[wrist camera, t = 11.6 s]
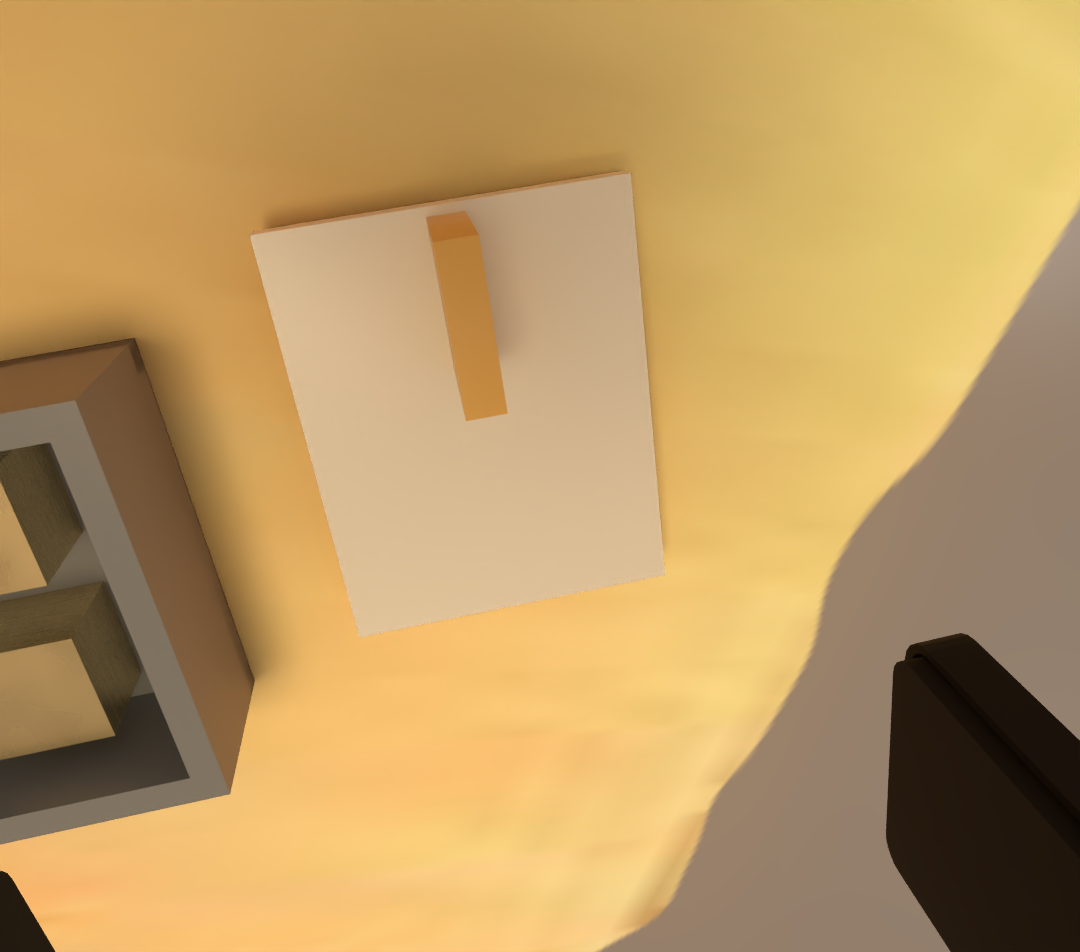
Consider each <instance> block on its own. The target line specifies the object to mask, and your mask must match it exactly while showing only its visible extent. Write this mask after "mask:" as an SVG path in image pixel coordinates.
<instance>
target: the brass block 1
mask: <svg viewBox="0 0 1080 952" xmlns="http://www.w3.org/2000/svg"><path fill="white" fill-rule="evenodd" d="M82 533H83V531H82V528H81V526H80V523H79V521H78V519H77V516H76V514H75V511H74V509H73V507H72V504H71V502H70V499H69V497H68V495H67V492H66V490H65V488H64V485H63V483H62V480H61V478H60V476H59V473H58V471H57V468H56V466H55V464H54V461H53V459H52V456H51V454H50V452H49V449H48V447H47V445H46V443H44V444H38V445H33V446H27V447H22V448H16V449H11V450H6V451H0V595H2V594H7V593H12V592H17V591H22V590H27V589H32V588H37V587H43V586H47V585H48V584H49V582H50V581H51V579H52V578H53V576H54V575H55V573H56V572H57V570H58V569H59V567H60V566H61V564H62V563H63V561H64V560H65V558H66V557H67V555H68V554H69V552H70V551H71V549H72V548H73V546H74V545H75V543H76V542H77V540H78V539H79V537H80V536H81V534H82Z"/></svg>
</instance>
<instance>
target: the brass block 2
mask: <svg viewBox="0 0 1080 952" xmlns="http://www.w3.org/2000/svg"><path fill="white" fill-rule="evenodd" d="M141 672H142V671H141V669H140V667H139V664H138V662H137V660H136V657H135V655H134V652H133V650H132V648H131V645H130V643H129V640H128V638H127V636H126V633H125V631H124V628H123V626H122V624H121V621H120V619H119V617H118V614H117V612H116V609H115V607H114V605H113V602H112V600H111V597H110V595H109V593H108V590H107V588H106V585H105V583H104V581H101V582H96V583H91V584H86V585H81V586H76V587H71V588H66V589H61V590H56V591H50V592H45V593H40V594H35V595H30V596H25V597H20V598H15V599H10V600H5V601H0V760H3V759H8V758H13V757H17V756H22V755H27V754H32V753H36V752H41V751H46V750H50V749H55V748H60V747H65V746H69V745H74V744H79V743H84V742H88V741H93V740H98V739H103V738H107V737H112V736H116V733H117V731H118V728H119V726H120V723H121V721H122V718H123V716H124V714H125V711H126V709H127V706H128V704H129V701H130V699H131V696H132V694H133V692H134V689H135V687H136V684H137V682H138V679H139V677H140V674H141Z"/></svg>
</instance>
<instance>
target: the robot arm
mask: <svg viewBox="0 0 1080 952" xmlns="http://www.w3.org/2000/svg"><path fill="white" fill-rule="evenodd" d="M886 839H887V844H888V848H889V851H890V854H891V857H892V859H893V862H894V864H895V866H896V868H897V869H898V871H899V873H900V874H901V876H902V877H903V879H904V881H905V882H906V884H907V885H908V886H909V888H910V890H911V891H912V893H913V894H914V896H915V897H916V899H917V900H918V902H919V904H920V905H921V906H922V908H923V910H924V911H925V913H926V914H927V916H928V918H929V919H930V920H931V922H932V924H933V925H934V927H935V928H936V930H937V931H938V933H939V934H940V936H941V938H942V939H943V941H944V942H945V944H946V945H947V947H948V948H949V950H950V951H951V952H1080V740H1079V739H1077V738H1076V737H1075V736H1074V735H1073V734H1072V733H1071V732H1070V731H1069V730H1068V729H1067V728H1066V727H1065V726H1064V725H1063V724H1062V723H1061V722H1060V721H1059V720H1058V719H1056V718H1055V716H1053V715H1052V714H1051V713H1050V712H1049V711H1048V710H1047V709H1046V708H1045V707H1044V706H1043V705H1042V704H1041V703H1040V702H1039V701H1038V700H1037V699H1036V698H1035V697H1034V696H1033V695H1031V693H1030V692H1028V691H1027V690H1026V689H1025V688H1024V687H1023V686H1022V685H1021V684H1020V683H1019V682H1018V681H1017V680H1016V679H1015V678H1014V677H1013V676H1012V675H1011V674H1010V673H1009V672H1008V671H1007V670H1006V669H1004V668H1003V667H1002V666H1001V665H1000V664H999V663H998V662H997V661H996V660H995V659H994V658H993V657H992V656H991V655H990V654H989V653H988V652H987V651H985V649H984V648H982V646H980V645H979V644H978V643H977V642H976V641H975V640H974V639H973V638H971V637H970V636H968V635H966V634H962V633H959V634H955V635H950V636H946V637H942V638H938V639H933V640H929V641H925V642H920V643H916V644H913V645H910V646H909V648H908V649H907V651H906V656H905V660H904V661H900V662H897V663H896V665H895V666H894V671H893V689H892V713H891V734H890V757H889V778H888V801H887V823H886ZM0 952H55V950H54V949H53V947H52V945H51V944H50V942H49V940H48V939H47V937H46V935H45V933H44V932H43V930H42V928H41V927H40V925H39V923H38V922H37V920H36V918H35V917H34V915H33V913H32V912H31V910H30V908H29V907H28V905H27V903H26V902H25V900H24V898H23V896H22V895H21V893H20V891H19V890H18V888H17V886H16V885H15V883H14V881H13V880H12V878H11V877H10V876H9V875H8V873H5V872H3V871H0Z"/></svg>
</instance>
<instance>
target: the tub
mask: <svg viewBox="0 0 1080 952" xmlns="http://www.w3.org/2000/svg"><path fill="white" fill-rule="evenodd" d="M44 443H46V445H47V447H48V449H49V452H50V454H51V456H52V459H53V461H54V464H55V466H56V468H57V471H58V473H59V476H60V478H61V480H62V483H63V485H64V488H65V490H66V492H67V495H68V497H69V499H70V502H71V504H72V507H73V509H74V511H75V514H76V516H77V519H78V521H79V523H80V526H81V528H82V531H83V533H82V534H81V536H80V537H79V539H78V540H77V542H76V543H75V545H74V546H73V548H72V549H71V551H70V552H69V554H68V555H67V557H66V558H65V560H64V561H63V563H62V564H61V566H60V567H59V569H58V570H57V572H56V573H55V575H54V576H53V578H52V579H51V581H50V582H49V584H48V585H47V586H43V587H37V588H32V589H27V590H22V591H17V592H12V593H7V594H2V595H0V601H5V600H10V599H15V598H20V597H25V596H30V595H35V594H40V593H45V592H50V591H56V590H61V589H66V588H71V587H76V586H81V585H86V584H91V583H96V582H101V581H104V583H105V585H106V588H107V590H108V593H109V595H110V597H111V600H112V602H113V605H114V607H115V609H116V612H117V614H118V617H119V619H120V621H121V624H122V626H123V628H124V631H125V633H126V636H127V638H128V640H129V643H130V645H131V648H132V650H133V652H134V655H135V657H136V660H137V662H138V664H139V667H140V669H141V671H142V672H141V674H140V677H139V679H138V682H137V684H136V687H135V689H134V692H133V694H132V696H131V699H130V701H129V704H128V706H127V709H126V711H125V714H124V716H123V718H122V721H121V723H120V726H119V728H118V731H117V733H116V736H112V737H107V738H103V739H98V740H93V741H88V742H84V743H79V744H74V745H69V746H65V747H60V748H55V749H50V750H46V751H41V752H36V753H32V754H27V755H22V756H17V757H13V758H8V759H3V760H0V844H4V843H9V842H14V841H18V840H23V839H27V838H32V837H36V836H41V835H46V834H50V833H55V832H59V831H64V830H68V829H73V828H77V827H82V826H87V825H91V824H96V823H100V822H105V821H109V820H114V819H119V818H123V817H128V816H132V815H137V814H141V813H146V812H150V811H155V810H160V809H164V808H169V807H173V806H178V805H182V804H187V803H192V802H196V801H201V800H205V799H210V798H214V797H219V796H223V795H228V794H230V792H231V787H232V783H233V778H234V774H235V769H236V764H237V760H238V755H239V750H240V746H241V741H242V737H243V732H244V727H245V723H246V718H247V714H248V709H249V704H250V700H251V695H252V691H253V686H254V678H253V675H252V672H251V670H250V667H249V664H248V661H247V658H246V655H245V653H244V650H243V647H242V644H241V641H240V638H239V635H238V633H237V630H236V627H235V624H234V621H233V618H232V615H231V613H230V610H229V607H228V604H227V601H226V598H225V595H224V593H223V590H222V587H221V584H220V581H219V578H218V576H217V573H216V570H215V567H214V564H213V561H212V558H211V556H210V553H209V550H208V547H207V544H206V541H205V538H204V536H203V533H202V530H201V527H200V524H199V521H198V518H197V516H196V513H195V510H194V507H193V504H192V501H191V499H190V496H189V493H188V490H187V487H186V484H185V481H184V479H183V476H182V473H181V470H180V467H179V464H178V461H177V459H176V456H175V453H174V450H173V447H172V444H171V441H170V439H169V436H168V433H167V430H166V427H165V424H164V421H163V419H162V416H161V413H160V410H159V407H158V404H157V402H156V399H155V396H154V393H153V390H152V387H151V384H150V382H149V379H148V376H147V373H146V370H145V367H144V364H143V362H142V359H141V356H140V353H139V350H138V347H137V344H136V342H135V339H134V338H133V339H127V340H121V341H116V342H110V343H104V344H98V345H93V346H87V347H81V348H75V349H70V350H64V351H58V352H53V353H47V354H41V355H35V356H30V357H24V358H18V359H12V360H7V361H1V362H0V451H6V450H11V449H16V448H22V447H27V446H33V445H38V444H44Z"/></svg>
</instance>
